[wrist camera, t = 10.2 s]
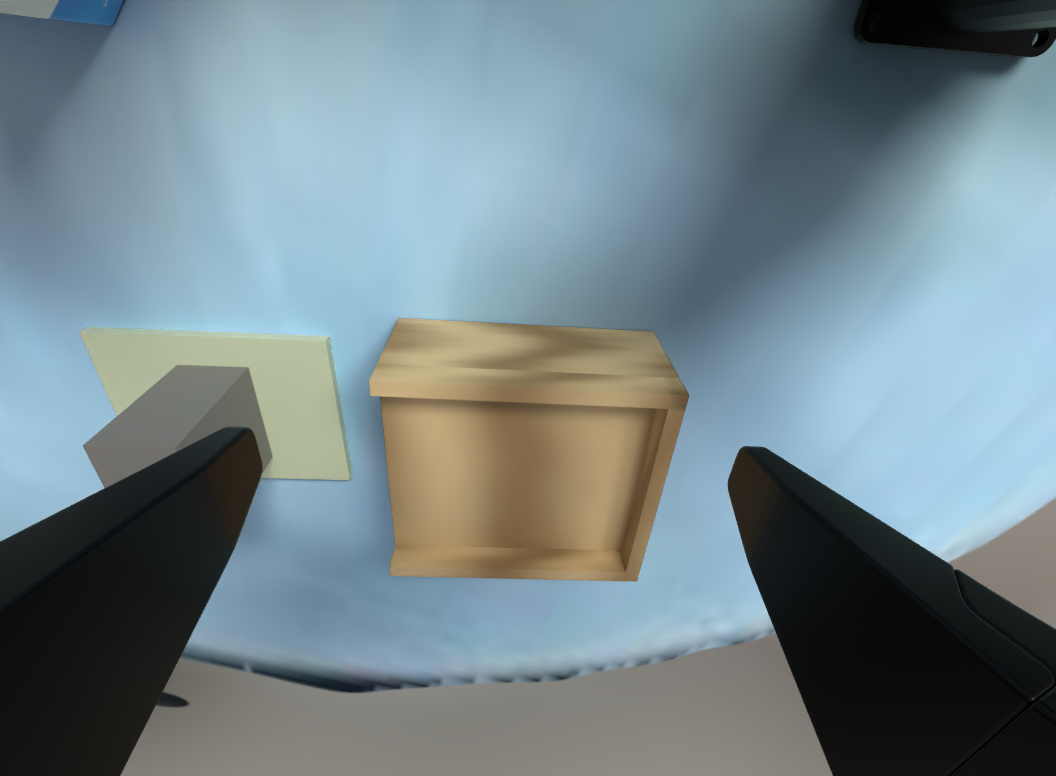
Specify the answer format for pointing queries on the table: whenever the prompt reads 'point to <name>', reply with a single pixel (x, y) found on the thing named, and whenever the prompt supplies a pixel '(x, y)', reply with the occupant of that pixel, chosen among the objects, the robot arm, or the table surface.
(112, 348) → the cover plate
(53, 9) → the ink box
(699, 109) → the table surface
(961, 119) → the table surface
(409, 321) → the oak box
